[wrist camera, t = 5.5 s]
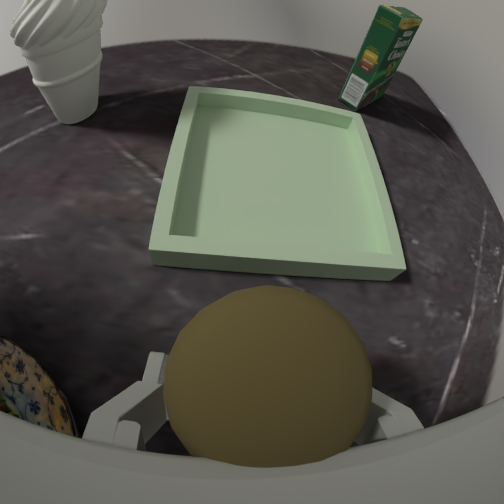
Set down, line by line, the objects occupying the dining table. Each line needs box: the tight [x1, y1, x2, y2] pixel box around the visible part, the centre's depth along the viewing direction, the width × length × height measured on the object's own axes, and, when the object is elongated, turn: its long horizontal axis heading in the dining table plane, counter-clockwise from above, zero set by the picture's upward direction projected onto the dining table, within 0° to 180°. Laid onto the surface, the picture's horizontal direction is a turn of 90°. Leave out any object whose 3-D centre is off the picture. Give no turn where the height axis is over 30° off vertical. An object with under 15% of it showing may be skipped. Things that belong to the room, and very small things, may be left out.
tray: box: [149, 86, 406, 281], centre depth 21 cm, size 16×16×2 cm
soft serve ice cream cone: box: [10, 0, 107, 124], centre depth 16 cm, size 8×8×16 cm
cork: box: [163, 285, 372, 468], centre depth 10 cm, size 6×6×11 cm
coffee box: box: [339, 5, 422, 111], centre depth 25 cm, size 8×3×13 cm, turn 136°
